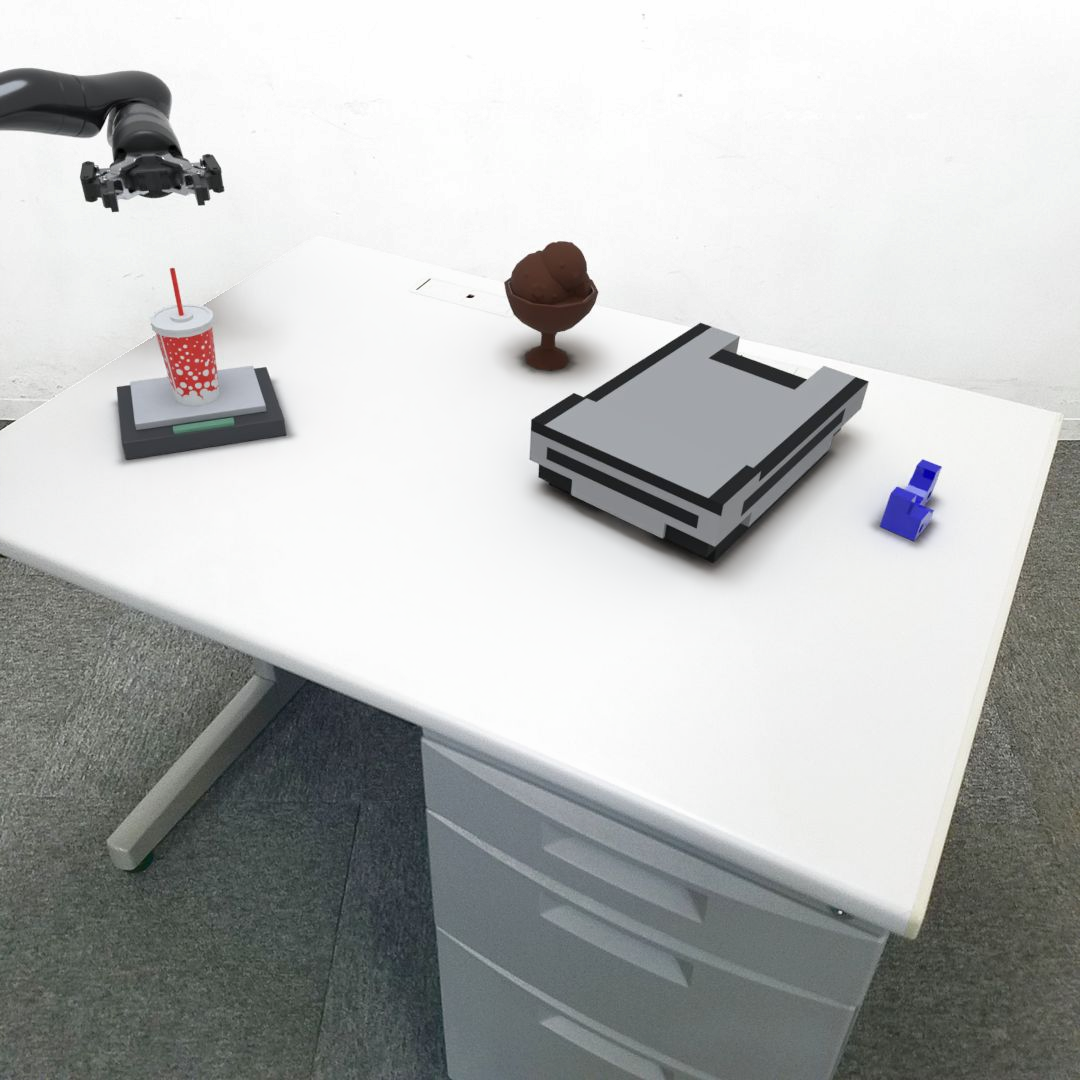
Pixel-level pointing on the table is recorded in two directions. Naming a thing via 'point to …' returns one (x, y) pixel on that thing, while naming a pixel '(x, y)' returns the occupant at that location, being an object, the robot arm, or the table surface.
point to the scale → (198, 414)
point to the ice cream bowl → (551, 298)
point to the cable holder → (912, 503)
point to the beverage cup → (188, 349)
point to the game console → (693, 439)
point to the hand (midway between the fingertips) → (157, 199)
